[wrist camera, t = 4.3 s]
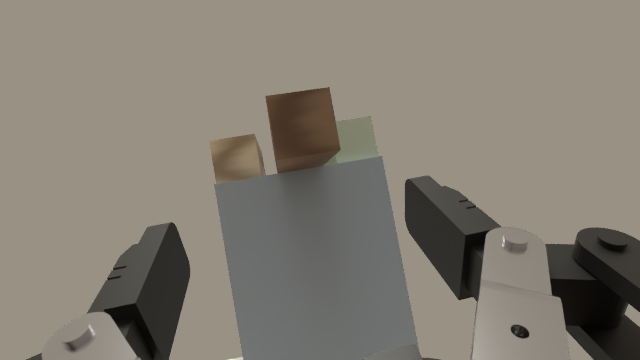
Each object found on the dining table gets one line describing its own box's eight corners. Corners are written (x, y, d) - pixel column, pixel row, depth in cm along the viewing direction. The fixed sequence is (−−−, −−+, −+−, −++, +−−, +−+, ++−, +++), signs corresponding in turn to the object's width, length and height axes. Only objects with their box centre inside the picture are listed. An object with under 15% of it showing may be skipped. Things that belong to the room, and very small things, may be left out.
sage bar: (337, 164, 31) (329, 122, 31) (322, 174, 42) (317, 143, 42) (378, 157, 31) (370, 116, 31) (353, 169, 42) (347, 138, 42)
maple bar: (216, 185, 29) (209, 140, 29) (234, 190, 40) (228, 157, 40) (261, 177, 30) (254, 134, 30) (267, 184, 41) (261, 152, 41)
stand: (278, 574, 27) (214, 184, 28) (279, 453, 40) (235, 190, 41) (451, 518, 29) (381, 155, 30) (398, 420, 41) (351, 170, 43)
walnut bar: (276, 160, 20) (265, 96, 20) (279, 182, 42) (273, 151, 42) (340, 149, 21) (329, 87, 21) (310, 177, 42) (304, 146, 43)
